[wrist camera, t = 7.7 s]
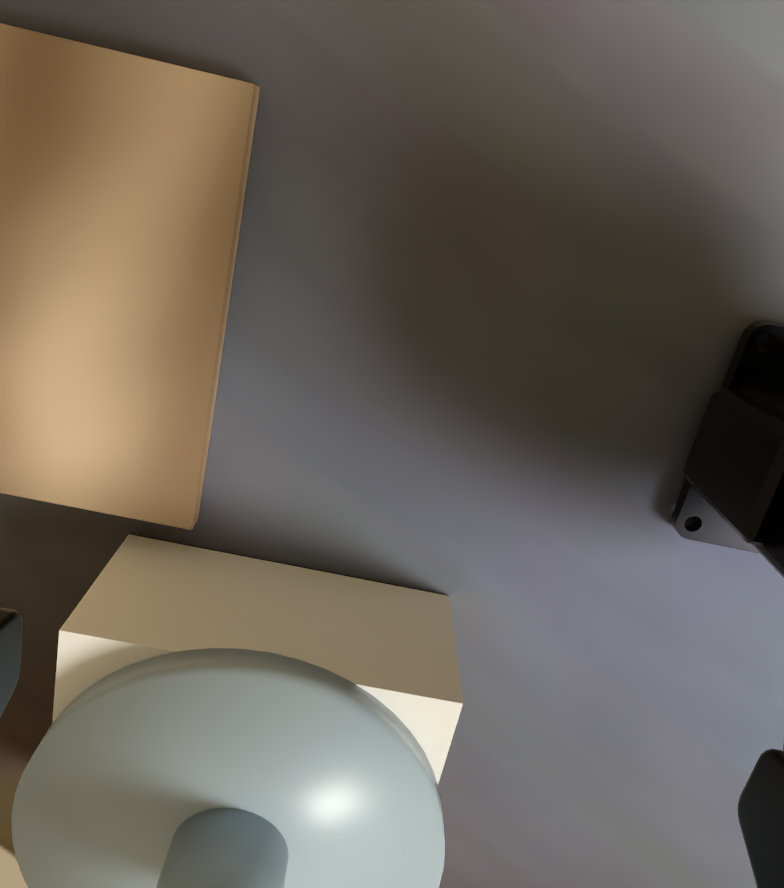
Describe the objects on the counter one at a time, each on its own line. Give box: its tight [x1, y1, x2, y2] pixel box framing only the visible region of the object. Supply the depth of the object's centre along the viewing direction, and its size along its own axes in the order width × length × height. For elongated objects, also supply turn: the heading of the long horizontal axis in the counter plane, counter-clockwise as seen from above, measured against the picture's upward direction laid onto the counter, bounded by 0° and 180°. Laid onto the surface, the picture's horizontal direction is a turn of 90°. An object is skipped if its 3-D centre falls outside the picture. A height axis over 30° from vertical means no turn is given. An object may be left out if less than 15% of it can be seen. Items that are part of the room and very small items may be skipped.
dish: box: [52, 534, 463, 784], centre depth 22 cm, size 10×10×5 cm
